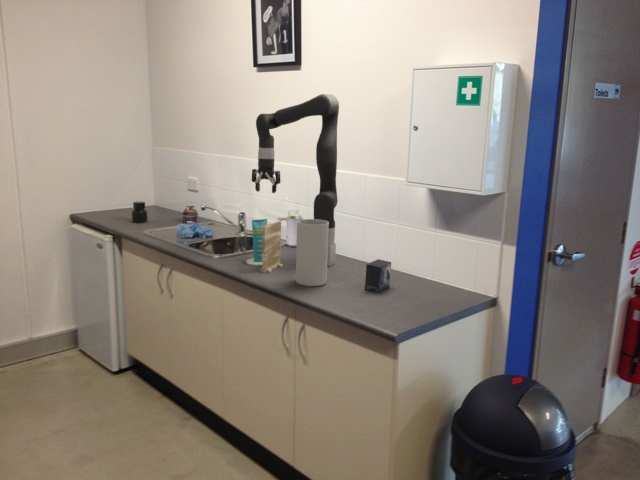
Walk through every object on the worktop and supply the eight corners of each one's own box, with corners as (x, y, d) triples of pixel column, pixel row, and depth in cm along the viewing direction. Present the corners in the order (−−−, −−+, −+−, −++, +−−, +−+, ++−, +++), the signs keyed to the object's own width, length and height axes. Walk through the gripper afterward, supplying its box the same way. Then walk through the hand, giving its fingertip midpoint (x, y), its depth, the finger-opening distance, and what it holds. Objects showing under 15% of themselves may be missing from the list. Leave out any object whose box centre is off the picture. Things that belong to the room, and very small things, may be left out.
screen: (284, 266, 257) (284, 222, 252) (268, 273, 244) (269, 227, 240) (274, 264, 259) (275, 220, 254) (258, 271, 246) (258, 225, 242)
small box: (378, 292, 223) (380, 266, 220) (364, 289, 226) (365, 263, 224) (390, 286, 231) (392, 261, 229) (376, 283, 235) (377, 258, 232)
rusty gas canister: (180, 221, 352) (180, 205, 350) (196, 220, 356) (196, 204, 354) (183, 224, 344) (183, 207, 342) (199, 223, 348) (199, 207, 346)
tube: (254, 263, 257) (254, 220, 253) (249, 260, 261) (249, 219, 257) (268, 261, 261) (269, 219, 257) (263, 258, 265) (264, 217, 261)
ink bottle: (141, 219, 352) (141, 200, 350) (151, 221, 347) (150, 202, 345) (128, 221, 344) (127, 202, 342) (137, 223, 339) (136, 203, 337)
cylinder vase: (311, 276, 241) (313, 218, 236) (332, 283, 233) (335, 222, 227) (289, 281, 233) (290, 221, 227) (310, 289, 224) (312, 226, 219)
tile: (275, 261, 263) (275, 260, 263) (263, 267, 254) (263, 265, 253) (254, 258, 268) (254, 257, 268) (241, 263, 258) (241, 262, 258)
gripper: (283, 158, 268) (282, 192, 271) (257, 156, 274) (256, 190, 277) (275, 158, 261) (275, 194, 265) (248, 157, 267) (248, 191, 270)
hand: (265, 192), depth 271 cm, fingers open, 8 cm apart
